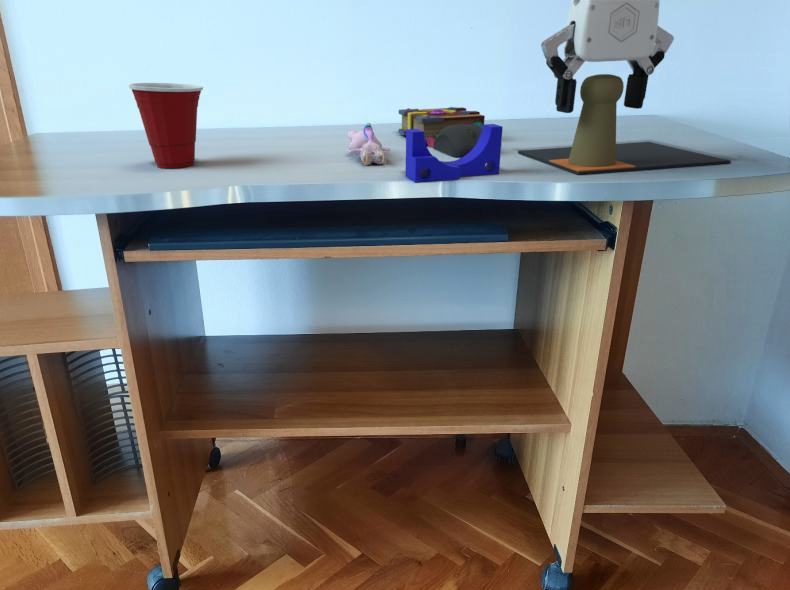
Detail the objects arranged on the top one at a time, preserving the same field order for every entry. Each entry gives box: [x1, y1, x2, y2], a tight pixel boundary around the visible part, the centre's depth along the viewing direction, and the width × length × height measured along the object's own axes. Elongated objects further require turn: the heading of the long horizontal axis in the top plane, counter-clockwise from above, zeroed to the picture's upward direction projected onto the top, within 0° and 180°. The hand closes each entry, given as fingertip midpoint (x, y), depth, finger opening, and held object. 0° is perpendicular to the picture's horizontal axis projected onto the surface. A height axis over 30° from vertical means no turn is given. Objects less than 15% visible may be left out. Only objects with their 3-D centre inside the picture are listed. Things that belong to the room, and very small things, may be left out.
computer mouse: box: [432, 124, 482, 159], centre depth 101 cm, size 6×11×4 cm, turn 12°
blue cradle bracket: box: [405, 123, 504, 183], centre depth 84 cm, size 12×4×6 cm, turn 100°
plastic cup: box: [128, 82, 204, 169], centre depth 97 cm, size 11×11×12 cm
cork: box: [568, 73, 625, 167], centre depth 84 cm, size 6×6×11 cm
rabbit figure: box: [347, 122, 391, 167], centre depth 97 cm, size 6×6×15 cm
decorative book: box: [398, 106, 486, 148], centre depth 113 cm, size 11×16×5 cm
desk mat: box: [517, 141, 732, 176], centre depth 92 cm, size 22×18×1 cm
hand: (598, 109), depth 83 cm, fingers open, 9 cm apart
